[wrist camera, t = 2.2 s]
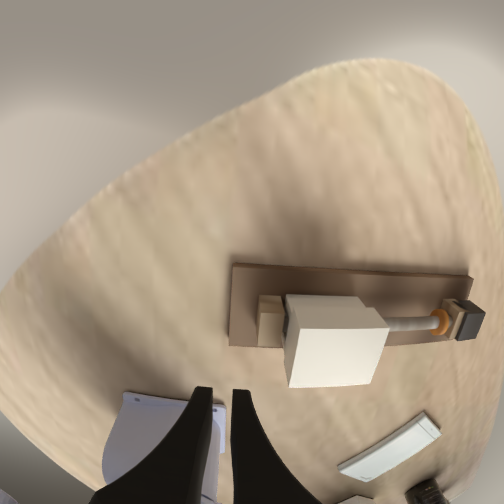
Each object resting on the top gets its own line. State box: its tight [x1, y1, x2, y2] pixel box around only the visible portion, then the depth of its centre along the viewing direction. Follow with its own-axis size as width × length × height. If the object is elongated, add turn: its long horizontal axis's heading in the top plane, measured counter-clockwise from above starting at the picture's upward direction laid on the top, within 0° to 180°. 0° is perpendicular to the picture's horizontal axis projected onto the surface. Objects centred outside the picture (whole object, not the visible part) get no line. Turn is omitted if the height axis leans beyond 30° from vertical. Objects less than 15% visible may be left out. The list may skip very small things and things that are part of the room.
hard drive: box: [337, 412, 442, 482], centre depth 27 cm, size 2×8×12 cm
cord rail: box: [229, 263, 486, 348], centre depth 19 cm, size 20×6×4 cm, turn 86°
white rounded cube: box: [281, 294, 390, 388], centre depth 17 cm, size 5×4×5 cm
